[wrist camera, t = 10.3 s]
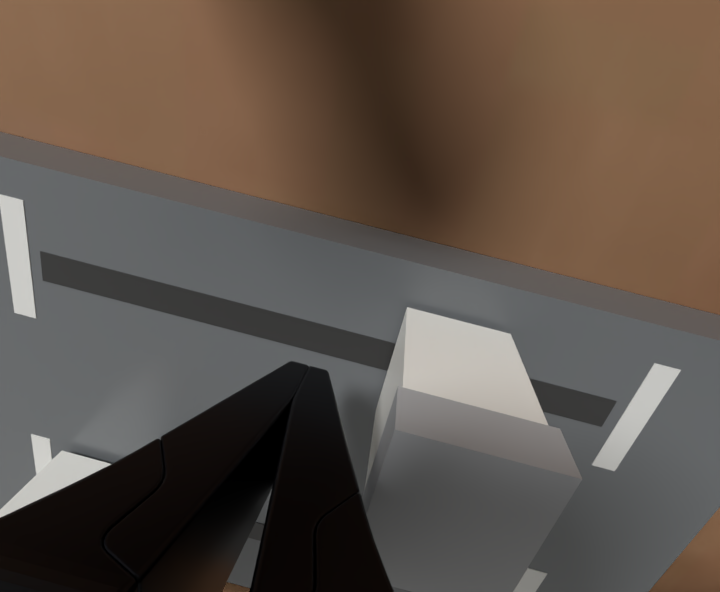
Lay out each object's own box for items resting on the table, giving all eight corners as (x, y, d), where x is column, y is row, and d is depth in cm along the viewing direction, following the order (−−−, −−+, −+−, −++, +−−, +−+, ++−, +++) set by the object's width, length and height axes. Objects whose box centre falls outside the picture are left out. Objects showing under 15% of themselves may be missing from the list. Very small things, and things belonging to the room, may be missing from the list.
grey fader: (516, 331, 10) (582, 478, 6) (469, 437, 11) (498, 614, 7) (404, 302, 10) (394, 429, 6) (370, 411, 11) (346, 573, 7)
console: (766, 326, 11) (835, 370, 9) (558, 614, 16) (576, 678, 15) (-43, 121, 12) (-129, 123, 10) (14, 466, 17) (-35, 510, 15)
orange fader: (140, 469, 13) (23, 621, 9) (140, 538, 14) (38, 695, 10) (58, 447, 13) (-93, 588, 9) (65, 517, 14) (-64, 667, 10)
